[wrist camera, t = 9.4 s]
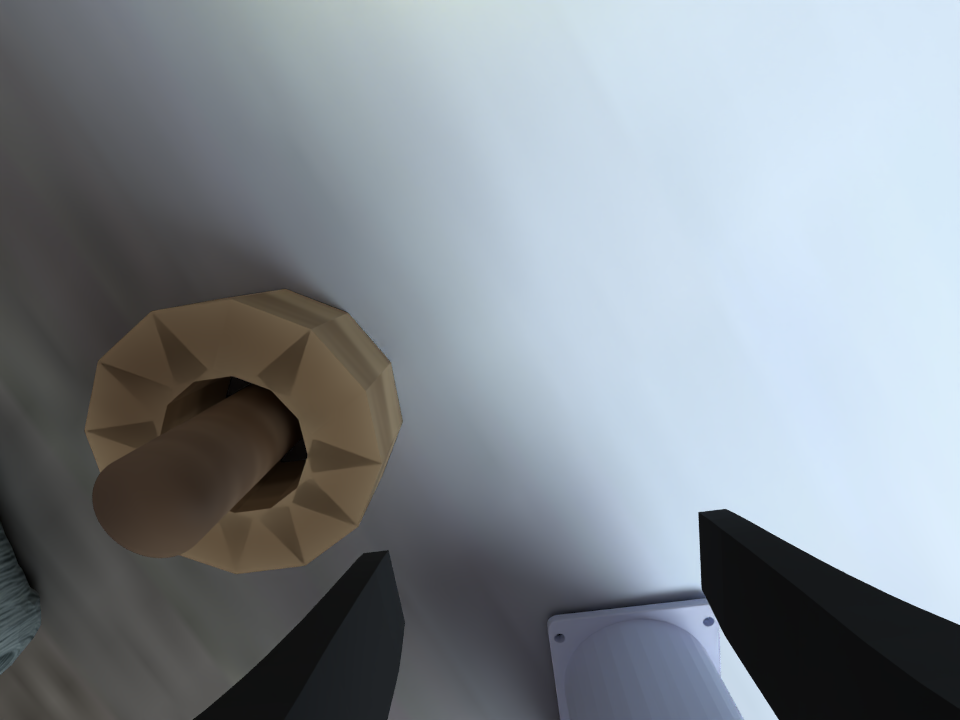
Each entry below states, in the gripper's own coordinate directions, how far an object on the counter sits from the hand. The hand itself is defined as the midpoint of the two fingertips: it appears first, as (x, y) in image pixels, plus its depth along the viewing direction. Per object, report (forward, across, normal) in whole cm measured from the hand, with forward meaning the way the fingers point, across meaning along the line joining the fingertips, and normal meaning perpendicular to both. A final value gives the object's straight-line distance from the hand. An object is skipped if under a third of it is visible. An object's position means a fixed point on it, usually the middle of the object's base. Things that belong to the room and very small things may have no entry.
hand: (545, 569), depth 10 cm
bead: (+9, +10, -2) cm, 14 cm away
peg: (+9, +10, -2) cm, 14 cm away
